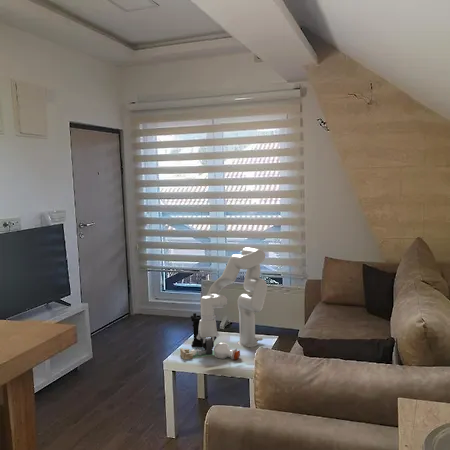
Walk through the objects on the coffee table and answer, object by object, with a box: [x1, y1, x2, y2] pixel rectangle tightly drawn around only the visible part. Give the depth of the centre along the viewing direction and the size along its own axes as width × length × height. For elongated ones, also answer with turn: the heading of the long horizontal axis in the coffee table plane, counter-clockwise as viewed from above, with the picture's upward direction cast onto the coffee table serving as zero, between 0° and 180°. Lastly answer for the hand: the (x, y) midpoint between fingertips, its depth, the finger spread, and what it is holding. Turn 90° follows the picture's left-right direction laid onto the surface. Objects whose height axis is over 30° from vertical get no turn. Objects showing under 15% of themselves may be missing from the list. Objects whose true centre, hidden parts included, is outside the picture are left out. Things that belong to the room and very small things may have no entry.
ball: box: [189, 349, 197, 356], centre depth 270 cm, size 4×4×4 cm
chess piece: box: [190, 312, 203, 348], centre depth 288 cm, size 8×8×20 cm
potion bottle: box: [213, 341, 241, 361], centre depth 267 cm, size 9×10×15 cm
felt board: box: [179, 349, 215, 361], centre depth 272 cm, size 24×8×1 cm, turn 110°
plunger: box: [195, 337, 214, 356], centre depth 272 cm, size 8×5×8 cm, turn 110°
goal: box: [179, 347, 194, 361], centre depth 269 cm, size 5×8×4 cm, turn 20°
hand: (208, 348), depth 273 cm, fingers closed on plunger, 3 cm apart
